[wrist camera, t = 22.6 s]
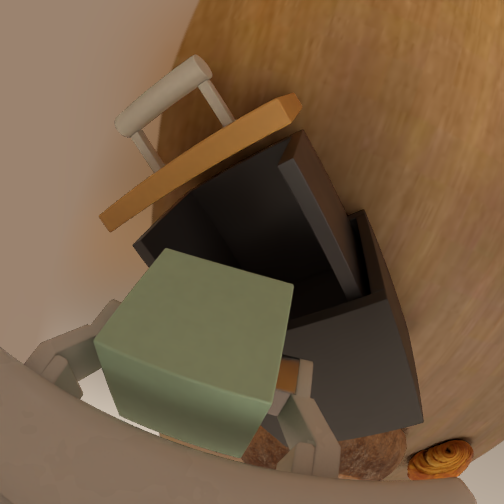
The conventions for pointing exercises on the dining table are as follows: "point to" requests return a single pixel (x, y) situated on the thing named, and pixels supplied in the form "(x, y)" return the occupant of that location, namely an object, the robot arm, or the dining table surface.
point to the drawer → (245, 198)
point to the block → (197, 351)
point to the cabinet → (358, 356)
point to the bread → (351, 455)
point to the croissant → (441, 461)
